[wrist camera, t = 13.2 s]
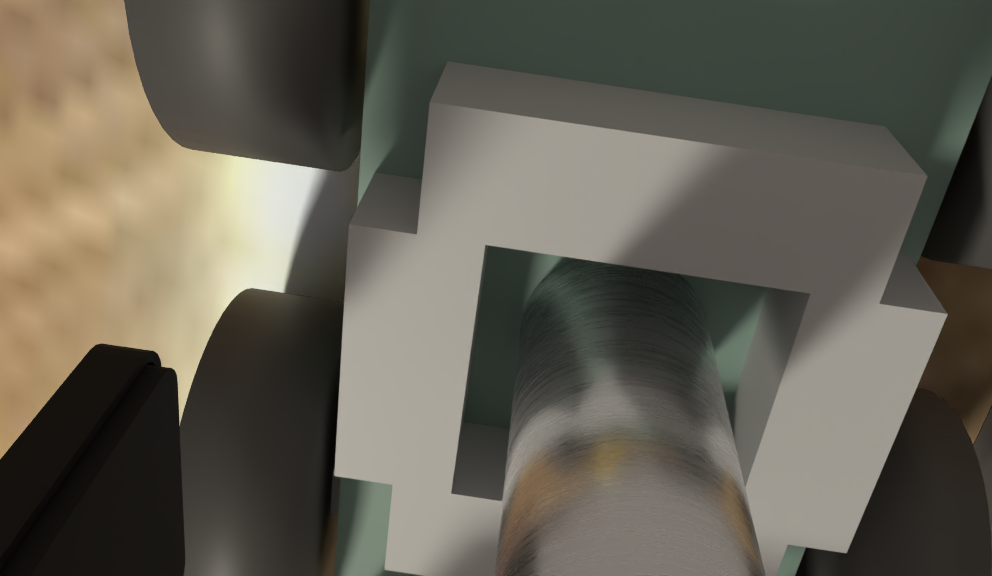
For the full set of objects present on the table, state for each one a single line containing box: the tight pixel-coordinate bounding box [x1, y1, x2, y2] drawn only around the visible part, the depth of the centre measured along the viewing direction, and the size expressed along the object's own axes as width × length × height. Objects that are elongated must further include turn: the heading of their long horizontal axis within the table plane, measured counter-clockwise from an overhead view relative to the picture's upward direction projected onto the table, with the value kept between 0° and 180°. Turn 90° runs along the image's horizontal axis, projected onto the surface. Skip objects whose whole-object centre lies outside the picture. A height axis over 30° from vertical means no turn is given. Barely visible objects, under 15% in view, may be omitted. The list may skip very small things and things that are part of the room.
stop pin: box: [495, 259, 765, 576], centre depth 10 cm, size 4×4×8 cm
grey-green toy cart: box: [124, 0, 992, 576], centre depth 12 cm, size 12×15×11 cm
